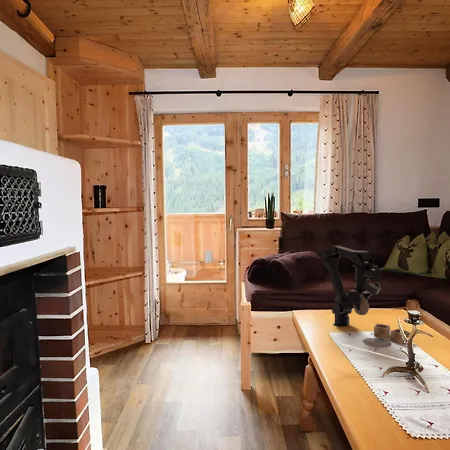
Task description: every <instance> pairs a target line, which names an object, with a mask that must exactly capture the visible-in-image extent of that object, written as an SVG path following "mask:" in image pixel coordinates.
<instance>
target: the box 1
mask: <svg viewBox="0 0 450 450" xmlns="http://www.w3.org/2000/svg"><path fill="white" fill-rule="evenodd" d="M390 331H391V325H389V324H383V323H376V324H375V325H374V327H373V336H374V337H375V338H381V339H388V338H390Z"/></svg>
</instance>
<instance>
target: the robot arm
mask: <svg viewBox="0 0 450 450" xmlns="http://www.w3.org/2000/svg"><path fill="white" fill-rule="evenodd" d="M341 256H343V257H345V258H349V259H350V260H351V261H352V262H353V263H354V264H352V267H353V268H355V278H354V279H353V281H354V282H355V284H354V285H355V286H353V289H350V290H349V291H347V293H346V292H345V288H344V284H343V281H342V278H341V275H340V272H339V269H338V266H339V263H340V262H339V259H340V258H341ZM320 260H321V263H322V265H323V267H325V269H326V270H327V271H328V275H329V278H330V281H331V284H332V287H333V290H334V293H335V298H334V306H333V307H332V308H331V313H332V314H334V323H333V324H332V325H333V326H337V327H340V328H341V327H344V328H345V327H347V326H350V316H349V314H352V311H353V309H354V305H355V307H356V309H357V310H358V311H359V310H360V303H361V300H362V299H363V298H364V297H365V299H366V300H367V302H369V298H370V297H371V296H376V295H379V293H380V291H381V290H382V287H381V283H379V282H378V281H380V280H381V279H382V277H383V272H382V270H381V269H380V266H379V265H376V263H375V262H374V260H373V258H372V255H371V254H370V252H369V251H367V250H355V249H351V248H349V247H345V246H342V245H333V246H332V247H331V248H329V249H328V250H326V251H325V252H323V253H322V255H321V256H320ZM371 281H376V283H372V282H371ZM363 296H364V297H363Z"/></svg>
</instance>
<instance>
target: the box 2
mask: <svg viewBox="0 0 450 450" xmlns="http://www.w3.org/2000/svg"><path fill="white" fill-rule="evenodd" d="M400 329H401V328H396V329H393V330H390V335H389V342H394V343H397V344H400V345H405V344H404V340H403V338H402V335H401V333H400ZM402 330H403V331H404V334H405V335H406V337H407V338H408V337H409V335H410V336H411V332H410V331H408V330H404V329H402Z"/></svg>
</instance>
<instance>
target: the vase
mask: <svg viewBox="0 0 450 450" xmlns="http://www.w3.org/2000/svg"><path fill="white" fill-rule="evenodd" d="M363 297H364V296H363ZM353 310H354V312H355V314H356V315H358V316H366V315H367V314H368V313H369V310H370V304H369V301H367V300H366V299H365V297H364V298H363V299H362V300H361V303H360V310H359V311H358V310H357V309H356V307H355V305H354V304H353Z"/></svg>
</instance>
